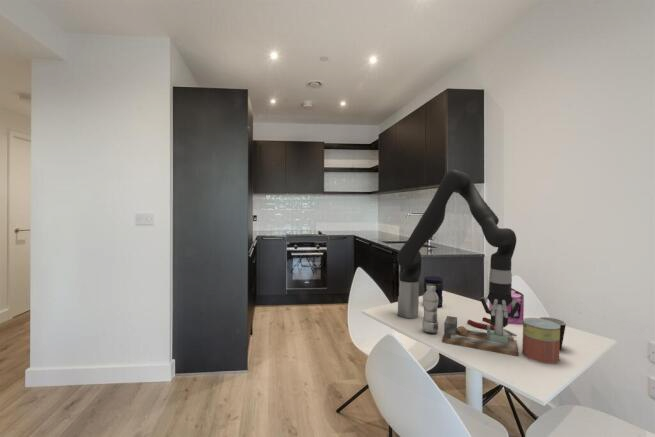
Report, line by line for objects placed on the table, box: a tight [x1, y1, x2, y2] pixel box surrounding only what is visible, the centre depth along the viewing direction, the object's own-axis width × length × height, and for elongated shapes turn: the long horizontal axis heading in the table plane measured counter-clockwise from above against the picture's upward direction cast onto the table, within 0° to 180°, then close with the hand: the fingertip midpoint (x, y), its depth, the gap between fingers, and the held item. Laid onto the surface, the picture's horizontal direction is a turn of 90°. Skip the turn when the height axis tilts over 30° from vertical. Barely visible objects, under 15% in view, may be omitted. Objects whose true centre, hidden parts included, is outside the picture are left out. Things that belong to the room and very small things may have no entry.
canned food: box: [521, 317, 561, 365], centre depth 117 cm, size 11×11×12 cm
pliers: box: [467, 316, 518, 337], centre depth 143 cm, size 12×20×3 cm, turn 22°
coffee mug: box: [539, 316, 567, 351], centre depth 127 cm, size 12×9×10 cm
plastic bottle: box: [421, 284, 439, 334], centre depth 139 cm, size 6×7×20 cm
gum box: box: [488, 287, 525, 325], centre depth 161 cm, size 24×8×14 cm, turn 172°
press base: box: [441, 315, 519, 357], centre depth 128 cm, size 26×12×8 cm, turn 63°
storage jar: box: [423, 275, 444, 309], centre depth 177 cm, size 10×10×15 cm
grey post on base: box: [486, 304, 508, 344], centre depth 125 cm, size 7×7×15 cm
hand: (499, 325), depth 125 cm, fingers closed on grey post on base, 3 cm apart
